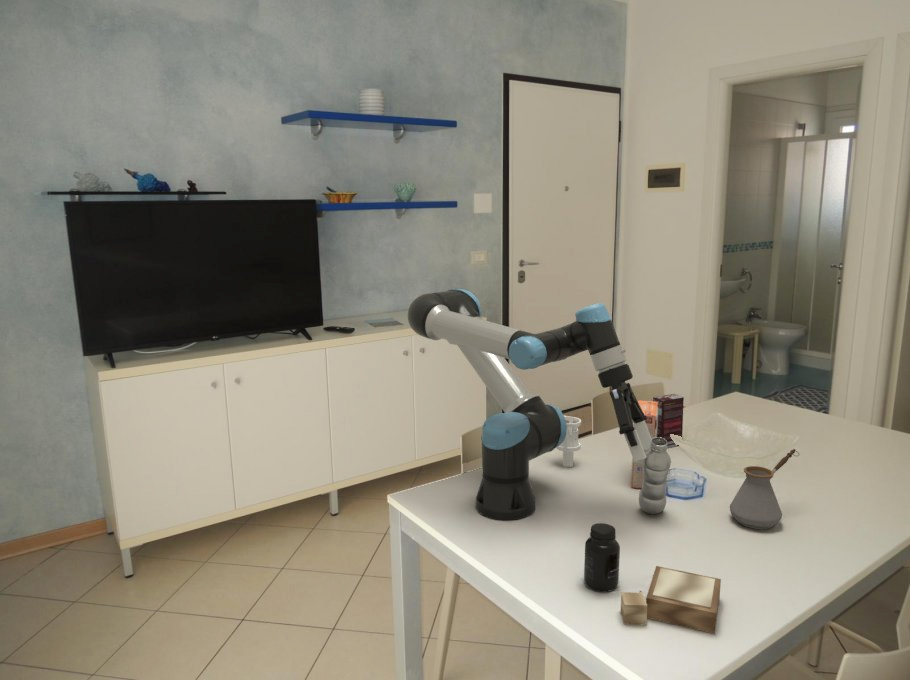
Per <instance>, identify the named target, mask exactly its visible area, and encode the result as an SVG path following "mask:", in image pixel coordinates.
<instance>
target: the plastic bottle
mask: <svg viewBox="0 0 910 680" xmlns="http://www.w3.org/2000/svg"><path fill="white" fill-rule="evenodd" d="M667 450H668V448H667V441H666V440H665V439H664V438H660V437H656V438H653V439H652V440H651V444H650V449H649V450H648V451H647V452H646V453H645V455H646V458H645V459H643V484H642V489H641V488H640V491H639V495H638V498H637V499H638V506H639V508H640V509H641V510H642V511H643V512H644V513H647V514H650V515H652V514H653V515H654V514H655V515H656V514H657V515H658V514H659V513H661V512H662V511H665V508H666V505H667V492H666V491H667V487H666V486H667V485H666V484H667V480H668V475H669V472H670V467H671V466H672V465H671V463H672V460H671V456H670V455H669V452H668V451H667Z"/></svg>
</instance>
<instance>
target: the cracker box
mask: <svg viewBox="0 0 910 680" xmlns="http://www.w3.org/2000/svg"><path fill="white" fill-rule="evenodd" d="M637 401H638V403H639V405H640V407H641V409H642V411H643V413H644V416H645V415H646V416H647V420H643V421H645V423H646V425H647V428H648V431H649V433H650V436H651V439H653V438H656V437H657V426H658V402H655V401H653V400H638V399H637ZM634 424H635V423H634V422H633V425H634ZM634 430H635V427H634ZM649 449H650V448H648V449H645V450H644V452H645V453H646V452H647V451H648V450H649ZM631 460H632V461H631V479H630V480H631V481H630V484H631V485H630V487H631V488H634V489H640V490H641V489H642V484H643V459H641V460H638V461H635V462H634V459H633V457H632V459H631Z"/></svg>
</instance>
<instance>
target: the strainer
mask: <svg viewBox="0 0 910 680" xmlns="http://www.w3.org/2000/svg"><path fill="white" fill-rule="evenodd" d="M563 415H564V414H563ZM564 417H565V420H566V424H567V429H566V437H565V439H564V441H563V442H562V443H561V444H560V445H559V446H558V447H556V448H555V449H557V450H558V451H562V466H563V467H564V468H572V467H574V452H578V451H580V450H581V445H582V444H581V442H580V441H579V428H580V427H581V425H582V419H581V418H579V417H575V416H568V415H564ZM567 421H568V422H567Z"/></svg>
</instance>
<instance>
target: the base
mask: <svg viewBox="0 0 910 680" xmlns="http://www.w3.org/2000/svg"><path fill="white" fill-rule="evenodd" d="M651 578H652V579H651V581H650V584H649V588H648V590H647V591H648V592H647V594H646V598H645V600H646V603H647V619H651V620H654V621H655V620H656V621H660V622H663V623H667V624H673V625H676V626H681V627H685V628H688V629H689V628H690V629H694V630H697V631H702V632H706V633H710V634H716V627H717V621H718V614H719V613H718V612H719V606H720V605H719V604H720V595H721V582H722V579H721V578H717V577H711V576H707V575H703V574H698V573H694V572H688V571H683V570H678V569H673V568H669V567H663V566H659V565H656V566H655V569H654V572H653V575H652V577H651Z"/></svg>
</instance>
